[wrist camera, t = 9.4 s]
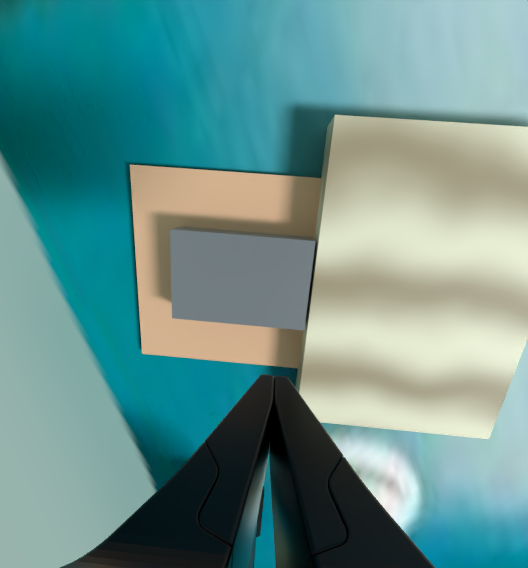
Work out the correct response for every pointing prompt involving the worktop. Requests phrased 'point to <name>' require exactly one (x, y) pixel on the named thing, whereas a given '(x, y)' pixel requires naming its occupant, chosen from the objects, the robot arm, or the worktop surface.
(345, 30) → the worktop surface
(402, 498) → the worktop surface
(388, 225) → the cream wavy flat block
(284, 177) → the mat
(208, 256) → the grey rectangular block
